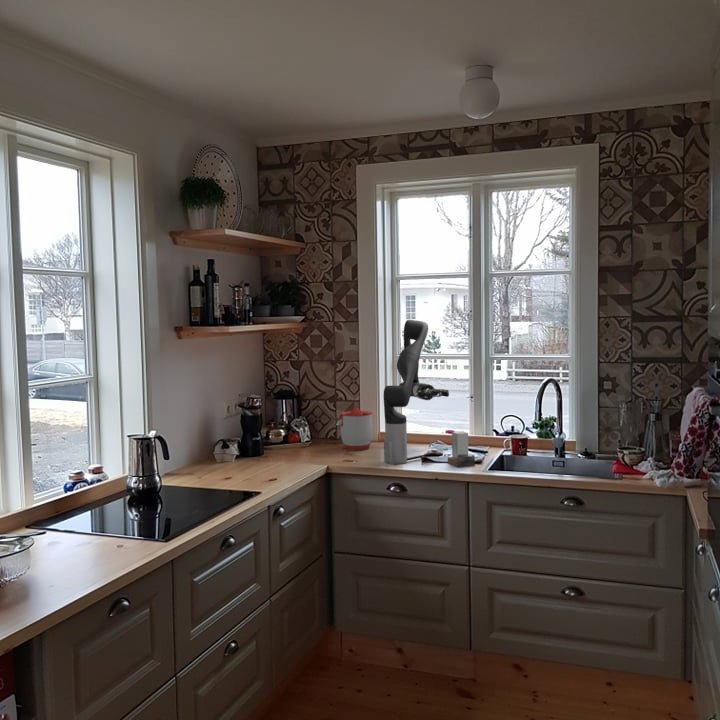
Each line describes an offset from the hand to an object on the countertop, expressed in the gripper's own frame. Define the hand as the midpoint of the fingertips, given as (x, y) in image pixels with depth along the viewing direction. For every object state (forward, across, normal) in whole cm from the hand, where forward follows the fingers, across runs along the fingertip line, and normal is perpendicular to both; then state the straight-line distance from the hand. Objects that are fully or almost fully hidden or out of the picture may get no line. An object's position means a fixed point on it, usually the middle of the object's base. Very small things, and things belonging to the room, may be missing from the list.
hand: (439, 394), depth 321 cm
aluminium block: (+19, 0, +25) cm, 31 cm away
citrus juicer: (-32, -29, +28) cm, 51 cm away
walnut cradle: (+20, 0, +28) cm, 34 cm away
